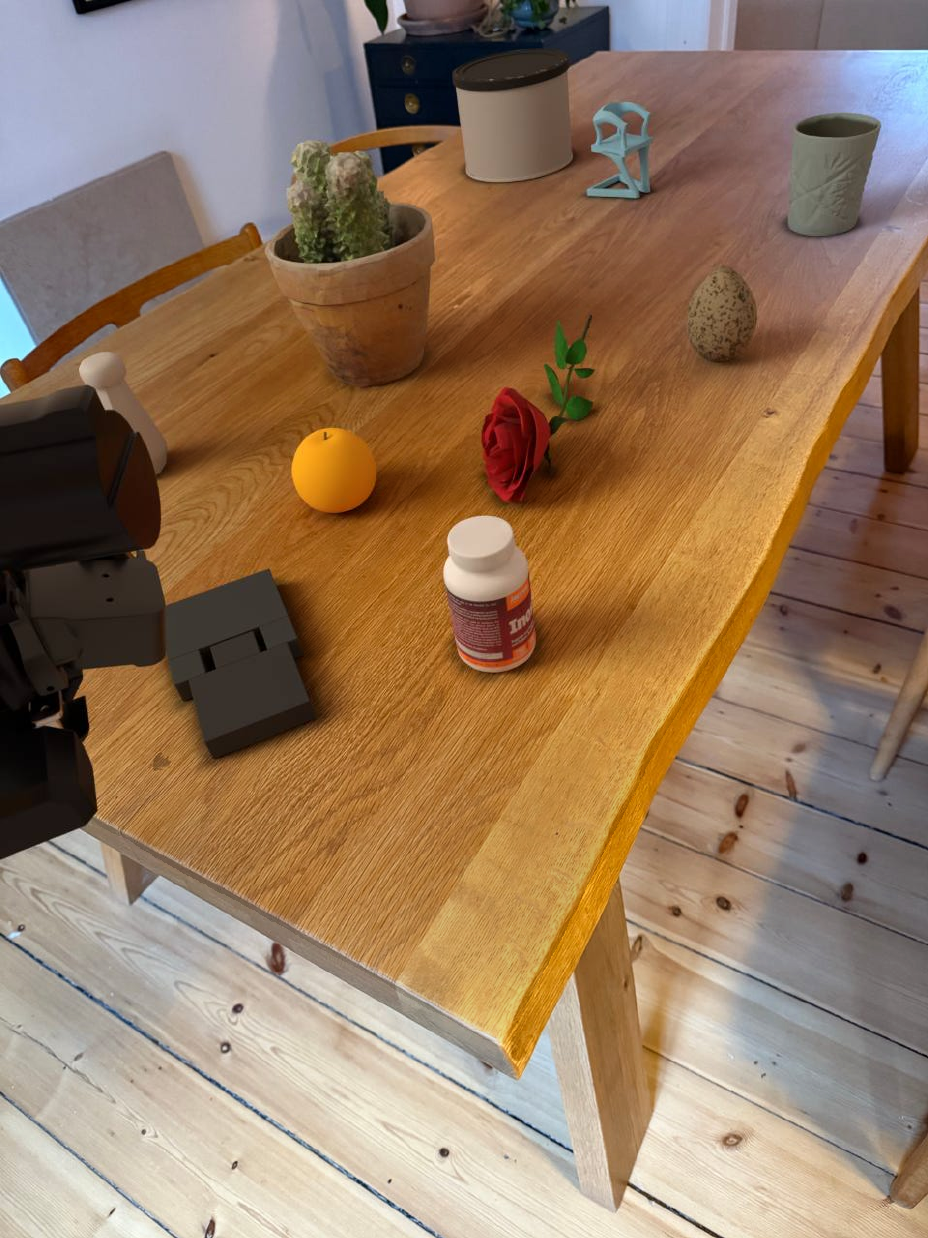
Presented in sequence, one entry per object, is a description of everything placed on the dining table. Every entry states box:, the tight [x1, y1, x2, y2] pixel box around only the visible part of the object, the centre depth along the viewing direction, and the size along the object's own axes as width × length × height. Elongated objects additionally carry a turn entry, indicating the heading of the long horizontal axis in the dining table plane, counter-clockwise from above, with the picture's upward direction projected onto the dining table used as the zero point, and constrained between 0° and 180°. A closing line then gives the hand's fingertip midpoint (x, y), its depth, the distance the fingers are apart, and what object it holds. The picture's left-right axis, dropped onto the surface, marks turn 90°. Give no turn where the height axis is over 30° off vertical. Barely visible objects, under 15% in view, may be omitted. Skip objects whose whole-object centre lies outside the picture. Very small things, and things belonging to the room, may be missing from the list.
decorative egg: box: [685, 265, 758, 362], centre depth 93 cm, size 7×7×10 cm
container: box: [451, 48, 574, 183], centre depth 149 cm, size 19×19×15 cm
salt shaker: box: [78, 351, 168, 475], centre depth 92 cm, size 6×6×13 cm
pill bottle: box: [442, 515, 537, 673], centre depth 66 cm, size 6×6×11 cm
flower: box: [480, 314, 596, 503], centre depth 89 cm, size 9×10×30 cm
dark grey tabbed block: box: [189, 631, 317, 760], centre depth 69 cm, size 8×10×2 cm
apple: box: [291, 427, 377, 514], centre depth 84 cm, size 8×8×8 cm
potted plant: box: [264, 139, 436, 388], centre depth 98 cm, size 18×19×25 cm
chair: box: [586, 101, 654, 199], centre depth 133 cm, size 8×8×12 cm
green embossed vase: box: [787, 112, 882, 237], centre depth 114 cm, size 10×10×12 cm
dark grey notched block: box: [165, 568, 305, 702], centre depth 74 cm, size 10×10×2 cm
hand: (83, 790), depth 49 cm, fingers closed
